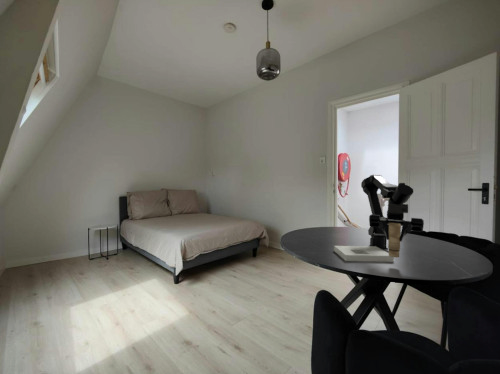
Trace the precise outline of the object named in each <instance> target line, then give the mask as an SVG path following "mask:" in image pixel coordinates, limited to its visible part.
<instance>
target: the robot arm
mask: <svg viewBox="0 0 500 374" xmlns="http://www.w3.org/2000/svg"><path fill="white" fill-rule="evenodd" d="M360 185H361V188H362V192H364V194H366V195H367V198H368V203H369V206H370V207H369V208H370V211H371V214H370V215H369V217H368V221H369V228H368V230H367V231H368V234H367V235H369V236H370V238H369V245H368V246H376V247H378V248H380V249H382V250H389V248H388V247H387V241H388V239H389V223H400V224H401V235H400V243H402V242H403V239H404V238H405V237H406V235H408V233H411V232H418V233H421V232H423V231H424V225H425V222H424V221H425V220H424V219H423V218H420V217H411V218H410V221H409V220H406V219H405V220H404V217H405V216H404V215H405V214H409V204H407V202H408V201H409V199H410V197H411V196H412V195H413V194H414V188H413V187H411V186H410V185H407V184H406V183H405V182H399V183H398V185H396V184H392V183H390V182H388V181H387V180H386V179H385V178H384V177H383V176H382V175H381V174H370V175H369V176H368V177H365V178H363V180H362V181H361V183H360ZM379 190H380V196H381V197H382V198H383V199H388V201H387V210H386V217H385V216H384V214H383V213H384V212H383V211H382V210H383V209H382V206H381V202H380V199H379V194H378V191H379ZM405 203H406V204H405Z"/></svg>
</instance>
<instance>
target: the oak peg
mask: <svg viewBox="0 0 500 374" xmlns="http://www.w3.org/2000/svg"><path fill="white" fill-rule="evenodd" d="M401 231H402V226H401V224H400V223H389V239H388V240H387V241H388V243H387V248H388V253H389V256H391V257H394V258H400V250H401V242H400V236H401Z"/></svg>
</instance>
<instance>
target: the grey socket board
mask: <svg viewBox="0 0 500 374" xmlns="http://www.w3.org/2000/svg"><path fill="white" fill-rule="evenodd" d="M333 251H334V252H335V253H336V254H337V255H338V256H339V257H340V258H341V259H342V260H344V261H345V262H377V263H378V262H380V263H381V262H383V263H384V262H385V263H386V262H388V263H389V262H390V263H393V262H395V261H394V260H395V259H394V258H395V257H391V256H389V252H387V251H385V249H380V248H378V247H376V246H369V245H333Z"/></svg>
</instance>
